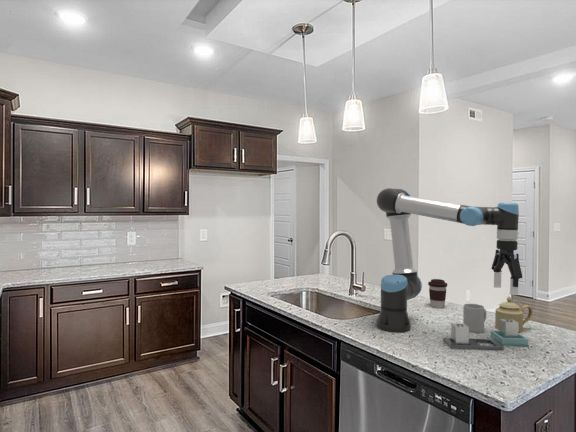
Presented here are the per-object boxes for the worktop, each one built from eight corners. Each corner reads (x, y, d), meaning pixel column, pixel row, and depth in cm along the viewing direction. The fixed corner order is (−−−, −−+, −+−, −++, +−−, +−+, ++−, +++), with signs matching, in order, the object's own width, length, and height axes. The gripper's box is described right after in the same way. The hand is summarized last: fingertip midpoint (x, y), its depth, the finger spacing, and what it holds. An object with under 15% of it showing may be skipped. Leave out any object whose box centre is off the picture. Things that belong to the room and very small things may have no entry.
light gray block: (455, 347, 152) (455, 326, 152) (451, 342, 157) (451, 322, 157) (468, 347, 151) (468, 326, 151) (463, 343, 156) (463, 322, 156)
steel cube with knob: (505, 341, 156) (505, 321, 156) (499, 337, 161) (500, 318, 161) (518, 342, 156) (518, 322, 156) (511, 338, 161) (512, 318, 161)
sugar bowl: (509, 322, 184) (510, 291, 184) (533, 329, 174) (534, 296, 174) (489, 327, 177) (490, 295, 177) (513, 334, 167) (513, 300, 167)
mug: (474, 334, 168) (475, 309, 167) (458, 328, 175) (459, 304, 175) (493, 330, 173) (494, 306, 172) (477, 325, 180) (477, 302, 180)
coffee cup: (441, 310, 206) (442, 282, 206) (424, 306, 214) (424, 279, 213) (450, 307, 213) (450, 280, 212) (433, 303, 220) (433, 277, 220)
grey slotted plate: (450, 348, 150) (450, 345, 150) (443, 340, 159) (443, 337, 159) (503, 350, 149) (503, 347, 149) (492, 342, 158) (493, 339, 158)
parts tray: (501, 345, 154) (502, 338, 154) (490, 336, 164) (490, 330, 164) (528, 346, 153) (528, 339, 153) (515, 337, 163) (515, 331, 163)
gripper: (534, 243, 145) (531, 298, 146) (501, 237, 170) (499, 284, 171) (513, 242, 146) (511, 298, 146) (484, 237, 171) (482, 284, 171)
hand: (505, 291), depth 159 cm, fingers open, 13 cm apart
